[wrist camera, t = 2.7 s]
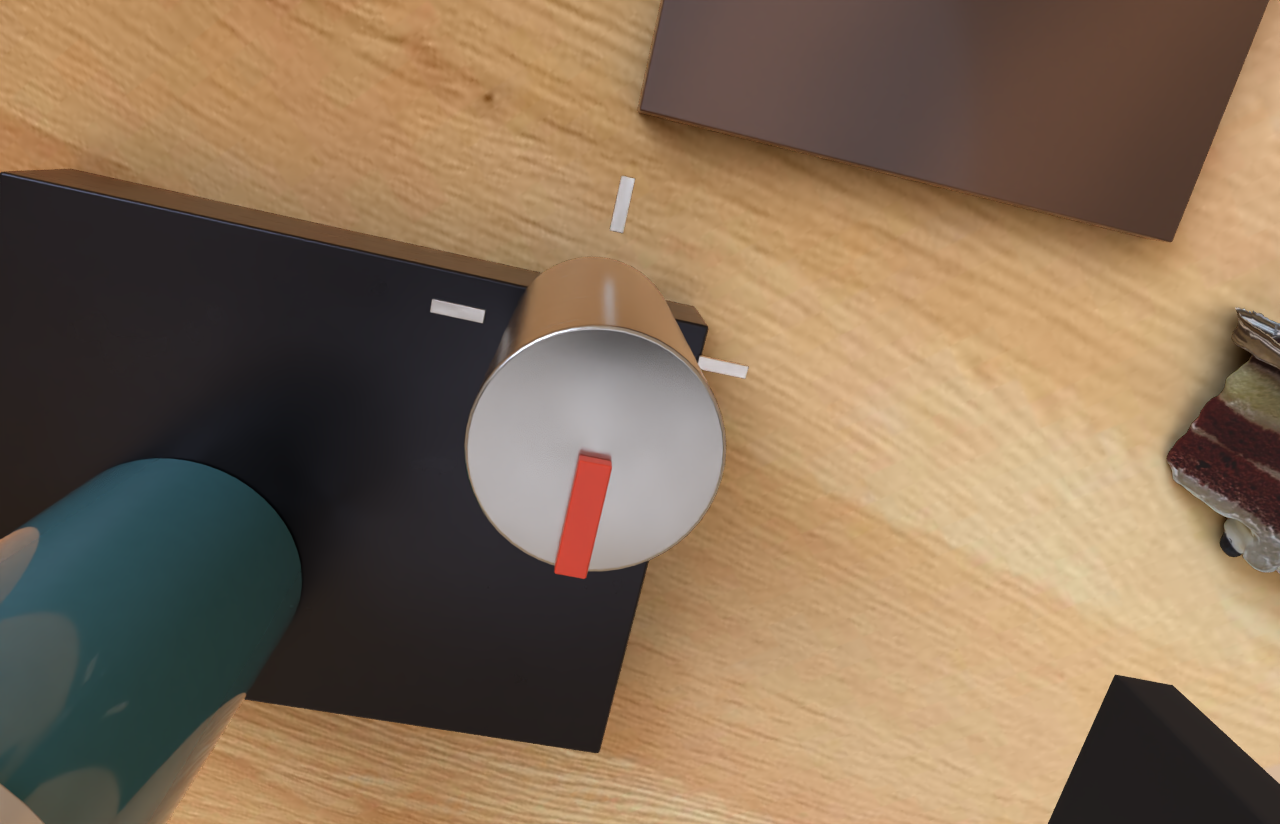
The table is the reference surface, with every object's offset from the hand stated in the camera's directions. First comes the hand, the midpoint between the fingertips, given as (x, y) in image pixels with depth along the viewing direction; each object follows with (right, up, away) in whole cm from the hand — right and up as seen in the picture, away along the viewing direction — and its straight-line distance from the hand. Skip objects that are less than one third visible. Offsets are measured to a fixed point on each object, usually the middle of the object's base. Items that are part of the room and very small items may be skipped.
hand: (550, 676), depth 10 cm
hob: (-7, +3, +17) cm, 18 cm away
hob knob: (0, +5, +13) cm, 14 cm away
